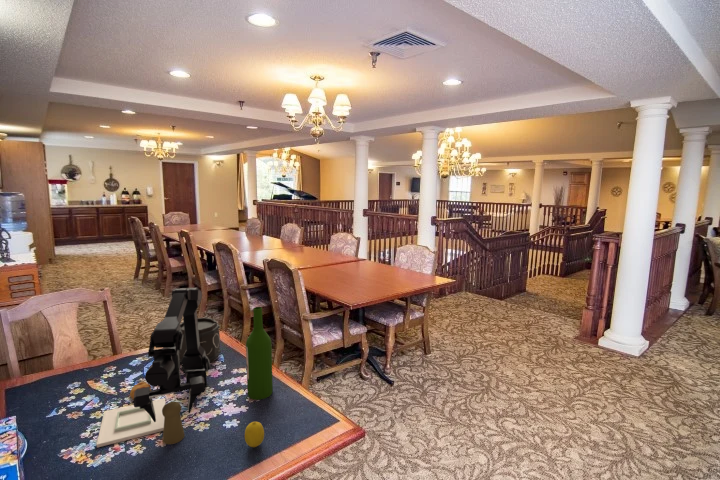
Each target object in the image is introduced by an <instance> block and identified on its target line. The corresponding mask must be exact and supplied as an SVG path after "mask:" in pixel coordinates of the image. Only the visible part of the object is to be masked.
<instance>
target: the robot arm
mask: <svg viewBox="0 0 720 480" xmlns="http://www.w3.org/2000/svg"><path fill="white" fill-rule="evenodd" d="M202 297H203V294H202V291H201V289H199V287H182V288H180V287H179V288H175V289H172V292H171V300H170V302H169V305H168V307H167V310H166V311H165V312H166V313H165V315H164V318H163V320H161V321H159V323H156V325H155V327H154V330H153V331H152V332H151V334H150V339H149V346H148V354H147V357H148V358H153V361H152V363H151V365H150V367H149V368H148V369H147V370H146V372H145V375H144V379H145V382H146V383H147V384H149V385H150V386H151V387H159V388H157V389H153V390H152V391H150V387H145V388H140V389H136V391H135V392H134V401H133V405H134V407H140V409H145V410H146V411H147V412H148V413H149V415H150V416H151V418H152V419H153V421H154V422H156V415H155V411H154V406H153V402H152V401H153V398H157V397H162V396H167V395H170V394H175V393H180V392H185V391H188V401H187V402H188V403H187V405H188V406H187V413H188V415H189V414H191V412H192V409H193V406H194V403H195V401H196V399H197V397H200V396H201V395H202V393H205V392H206V388H207V387H208V382H207V373H208V371H209V370H211V363H209V362H210V361H209V359H208V357H207V356H206V354H205V349H204V348H203V347H202V346H201V345H200V342H199V331H198V320H197V318H198V311H197V310H198V309H199V306H200V303H201V301H202V299H203V298H202ZM182 320H183V321H184V330H185V340H186V351H185V353H184V356H183V358H182V363H181V362H179V350H181V348H182V342H183V334H182V331H181V328H180V323H182V322H183V321H182ZM155 348H156V349H155ZM180 365H181V367H180ZM181 368H182V369H181ZM181 370H182V374H185V381H186V383H182V382H181V381H182V380H181V378H182V377H181Z"/></svg>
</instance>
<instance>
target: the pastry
mask: <svg viewBox="0 0 720 480" xmlns="http://www.w3.org/2000/svg"><path fill="white" fill-rule="evenodd" d="M145 387H150V391H153V390H152V386H151V385H150V384H148V383H147V382H146V381H145V382H144V381H141V382H137V383H136V384H134V385H133V386H132V387H131V389H130V393H129V395H130V398H131V400H132V402H134V392H135V391H136V389H140V388H145Z"/></svg>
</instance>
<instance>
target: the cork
mask: <svg viewBox="0 0 720 480" xmlns="http://www.w3.org/2000/svg"><path fill="white" fill-rule="evenodd" d="M181 412H182V404H181V403H180V402H179V401H170V402H167V403H165V405H164V407H163V409H162V414H163V416H164V430H163V431H162V432H163V433H162V442H163V444H165V445H174V444H177V443H179V442H181V441H182V440H183V439H184V438H185V437H186V436H185V435H186V434H185V430H184V426H183V422H182V421H183V420H182V416H181Z"/></svg>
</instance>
